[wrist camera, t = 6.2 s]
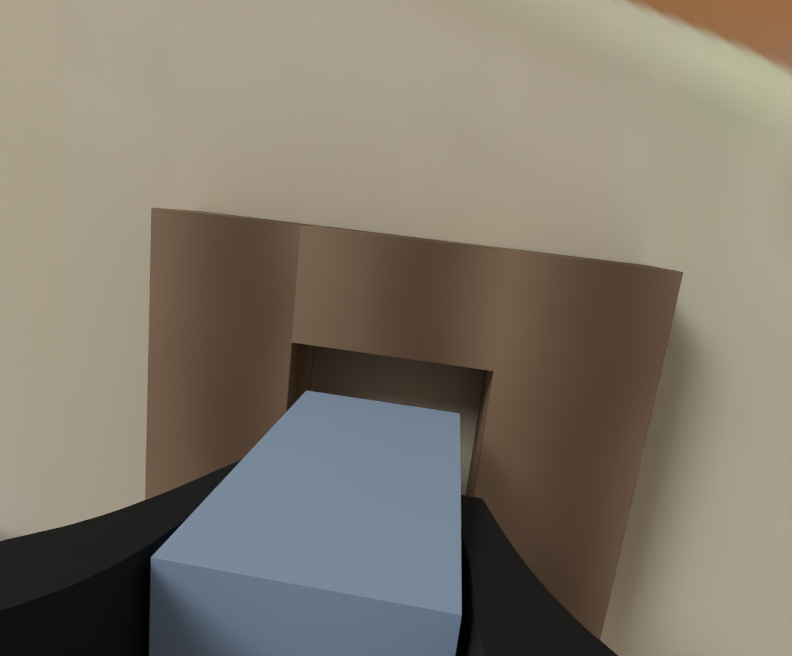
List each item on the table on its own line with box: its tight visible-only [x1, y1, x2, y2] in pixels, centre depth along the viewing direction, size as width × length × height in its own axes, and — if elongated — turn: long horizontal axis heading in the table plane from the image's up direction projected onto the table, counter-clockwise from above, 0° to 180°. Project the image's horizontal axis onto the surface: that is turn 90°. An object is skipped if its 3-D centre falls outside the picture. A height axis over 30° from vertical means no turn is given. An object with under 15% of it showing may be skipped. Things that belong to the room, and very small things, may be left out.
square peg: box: [149, 390, 462, 656], centre depth 10 cm, size 4×4×7 cm
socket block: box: [145, 208, 683, 640], centre depth 16 cm, size 14×12×2 cm
